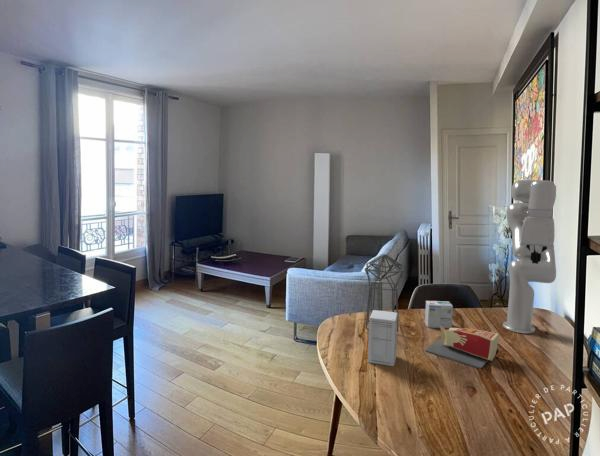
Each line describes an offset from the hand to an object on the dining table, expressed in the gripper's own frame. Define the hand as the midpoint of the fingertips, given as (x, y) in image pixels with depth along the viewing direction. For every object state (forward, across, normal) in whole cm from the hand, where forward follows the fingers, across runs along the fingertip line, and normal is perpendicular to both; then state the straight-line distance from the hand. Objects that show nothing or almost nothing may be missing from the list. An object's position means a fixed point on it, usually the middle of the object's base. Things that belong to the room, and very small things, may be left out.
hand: (535, 262), depth 140 cm
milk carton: (+31, -7, -17) cm, 36 cm away
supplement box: (+35, -38, -44) cm, 68 cm away
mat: (+35, -19, -16) cm, 43 cm away
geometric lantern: (+35, -49, -25) cm, 65 cm away
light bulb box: (+35, -36, +3) cm, 51 cm away
